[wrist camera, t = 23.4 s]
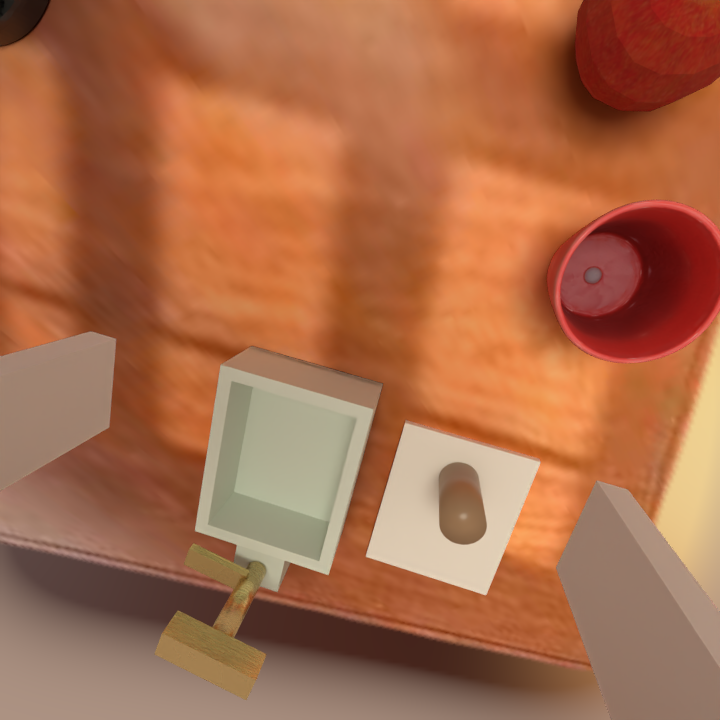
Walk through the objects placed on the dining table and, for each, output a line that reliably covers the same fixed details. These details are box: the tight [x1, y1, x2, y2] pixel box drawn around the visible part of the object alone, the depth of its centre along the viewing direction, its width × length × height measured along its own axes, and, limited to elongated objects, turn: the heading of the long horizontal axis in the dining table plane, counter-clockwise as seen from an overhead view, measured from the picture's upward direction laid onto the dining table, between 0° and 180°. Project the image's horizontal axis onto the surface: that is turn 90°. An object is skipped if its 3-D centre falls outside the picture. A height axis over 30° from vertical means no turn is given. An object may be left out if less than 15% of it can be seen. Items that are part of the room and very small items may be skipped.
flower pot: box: [547, 200, 720, 363], centre depth 34 cm, size 11×11×10 cm
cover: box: [366, 420, 541, 595], centre depth 44 cm, size 14×17×9 cm
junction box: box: [195, 346, 383, 592], centre depth 45 cm, size 14×22×7 cm, turn 166°
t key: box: [155, 543, 266, 700], centre depth 39 cm, size 2×10×10 cm, turn 67°
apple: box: [575, 0, 720, 111], centre depth 28 cm, size 10×10×14 cm
